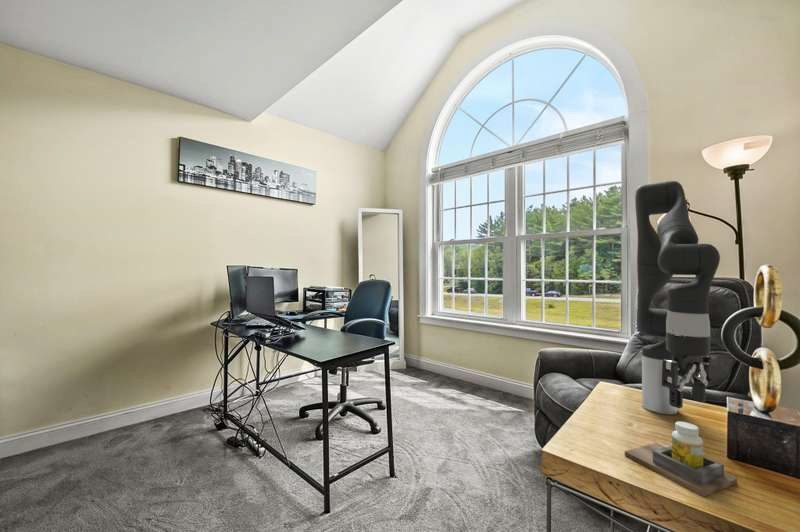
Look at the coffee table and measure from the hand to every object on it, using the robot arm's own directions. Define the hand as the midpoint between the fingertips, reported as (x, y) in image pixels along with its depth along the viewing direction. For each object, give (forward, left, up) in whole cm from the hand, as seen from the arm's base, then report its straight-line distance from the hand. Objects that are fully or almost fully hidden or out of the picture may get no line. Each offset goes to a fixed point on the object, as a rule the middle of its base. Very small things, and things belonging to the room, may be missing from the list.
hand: (687, 403), depth 75 cm
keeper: (0, -2, -15) cm, 16 cm away
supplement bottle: (0, 0, -15) cm, 15 cm away
